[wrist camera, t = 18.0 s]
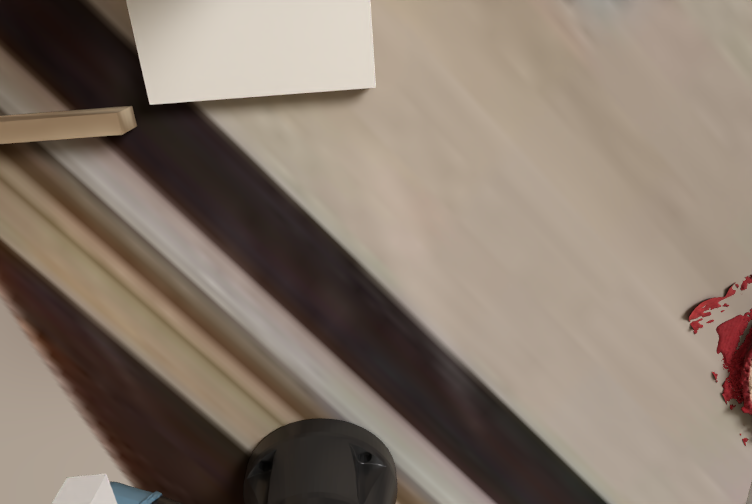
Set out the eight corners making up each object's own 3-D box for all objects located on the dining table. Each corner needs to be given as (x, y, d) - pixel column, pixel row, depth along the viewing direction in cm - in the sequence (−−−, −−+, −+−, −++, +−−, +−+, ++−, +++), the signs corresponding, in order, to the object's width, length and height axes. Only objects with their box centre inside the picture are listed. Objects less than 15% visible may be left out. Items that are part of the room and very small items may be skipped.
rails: (137, 126, 42) (122, 134, 39) (-25, 138, 42) (-51, 147, 39) (78, -118, 35) (55, -129, 33) (-112, -105, 35) (-151, -114, 33)
